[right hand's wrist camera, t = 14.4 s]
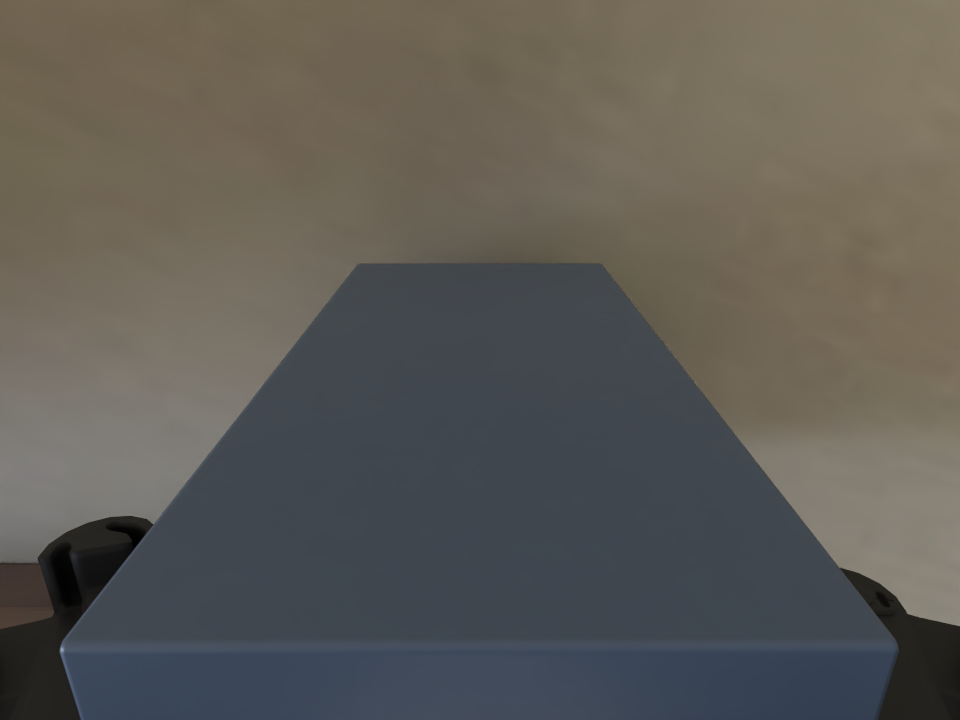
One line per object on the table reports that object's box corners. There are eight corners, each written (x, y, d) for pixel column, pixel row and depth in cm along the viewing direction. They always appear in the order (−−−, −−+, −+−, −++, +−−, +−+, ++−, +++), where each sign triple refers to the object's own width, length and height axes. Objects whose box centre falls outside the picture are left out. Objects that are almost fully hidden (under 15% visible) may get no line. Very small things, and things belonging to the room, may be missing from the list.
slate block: (602, 262, 16) (906, 645, 4) (587, 475, 18) (766, 1087, 7) (356, 263, 16) (50, 647, 4) (372, 475, 18) (192, 1087, 7)
